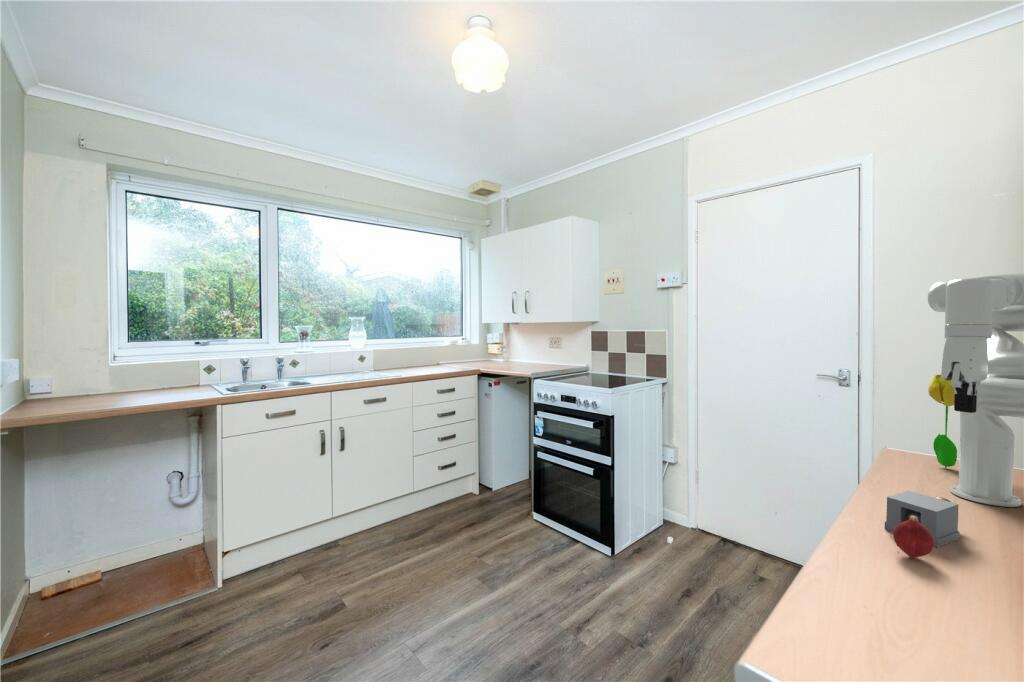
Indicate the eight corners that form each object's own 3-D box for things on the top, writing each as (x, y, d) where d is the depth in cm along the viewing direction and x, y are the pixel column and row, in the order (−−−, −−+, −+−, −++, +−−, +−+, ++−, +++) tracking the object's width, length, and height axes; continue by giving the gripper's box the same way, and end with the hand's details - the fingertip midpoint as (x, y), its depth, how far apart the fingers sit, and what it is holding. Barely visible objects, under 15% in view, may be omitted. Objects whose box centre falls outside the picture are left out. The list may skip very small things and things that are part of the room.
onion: (941, 567, 80) (943, 525, 80) (905, 564, 81) (906, 522, 81) (919, 551, 86) (920, 511, 86) (885, 548, 87) (886, 509, 87)
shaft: (928, 515, 99) (928, 493, 99) (957, 524, 95) (958, 501, 95) (898, 525, 94) (898, 503, 94) (927, 535, 90) (928, 512, 90)
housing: (906, 521, 99) (907, 490, 99) (959, 538, 91) (960, 504, 91) (884, 528, 96) (885, 496, 95) (937, 547, 87) (938, 512, 87)
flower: (936, 463, 142) (938, 372, 141) (969, 470, 135) (973, 374, 134) (921, 466, 139) (924, 373, 138) (955, 474, 131) (958, 375, 130)
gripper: (961, 332, 106) (958, 406, 106) (929, 332, 100) (927, 411, 100) (1005, 332, 99) (1002, 412, 100) (974, 332, 93) (972, 417, 94)
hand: (965, 411), depth 100 cm, fingers closed
